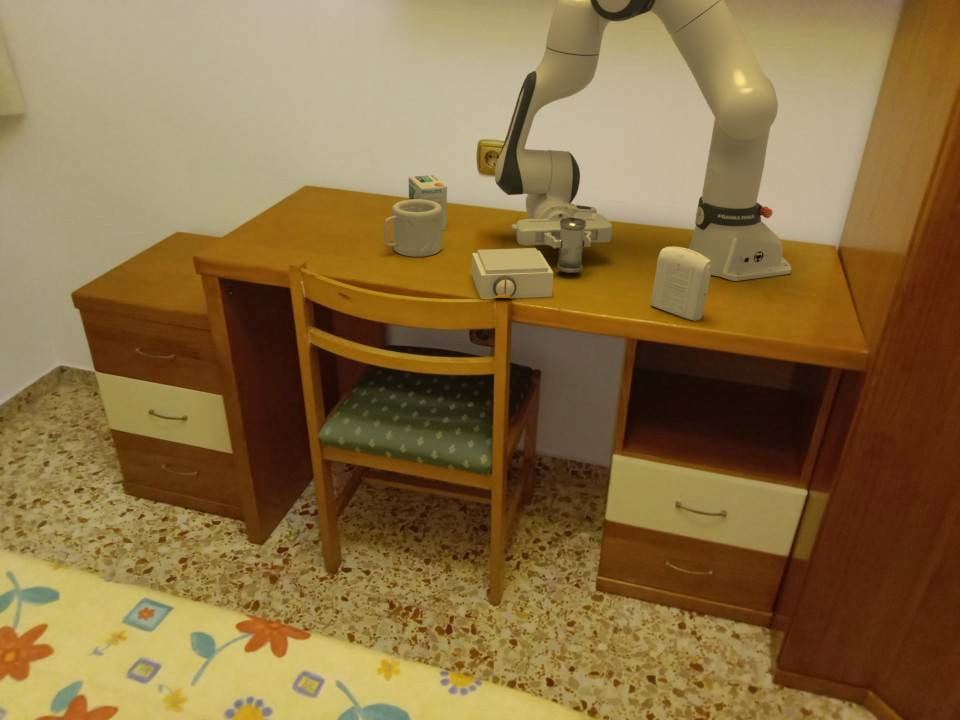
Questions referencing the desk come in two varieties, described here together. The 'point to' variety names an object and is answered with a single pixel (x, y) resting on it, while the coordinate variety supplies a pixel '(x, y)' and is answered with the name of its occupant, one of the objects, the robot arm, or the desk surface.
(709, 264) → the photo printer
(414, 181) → the light bulb box
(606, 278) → the desk surface
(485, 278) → the scale
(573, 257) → the glass jar
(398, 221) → the mug
